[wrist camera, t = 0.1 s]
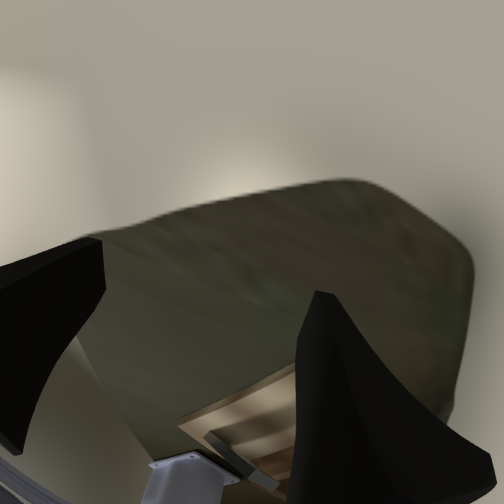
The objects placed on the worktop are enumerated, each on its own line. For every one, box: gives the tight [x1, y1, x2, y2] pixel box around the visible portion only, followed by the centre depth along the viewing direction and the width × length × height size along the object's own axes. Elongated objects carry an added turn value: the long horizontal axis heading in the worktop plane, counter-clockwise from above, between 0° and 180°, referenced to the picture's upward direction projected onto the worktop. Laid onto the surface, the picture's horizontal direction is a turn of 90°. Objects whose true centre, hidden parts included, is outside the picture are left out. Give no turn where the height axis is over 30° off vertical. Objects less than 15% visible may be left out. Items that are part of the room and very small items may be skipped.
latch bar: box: [203, 431, 280, 492], centre depth 21 cm, size 9×3×1 cm
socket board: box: [178, 362, 296, 501], centre depth 24 cm, size 14×18×4 cm
